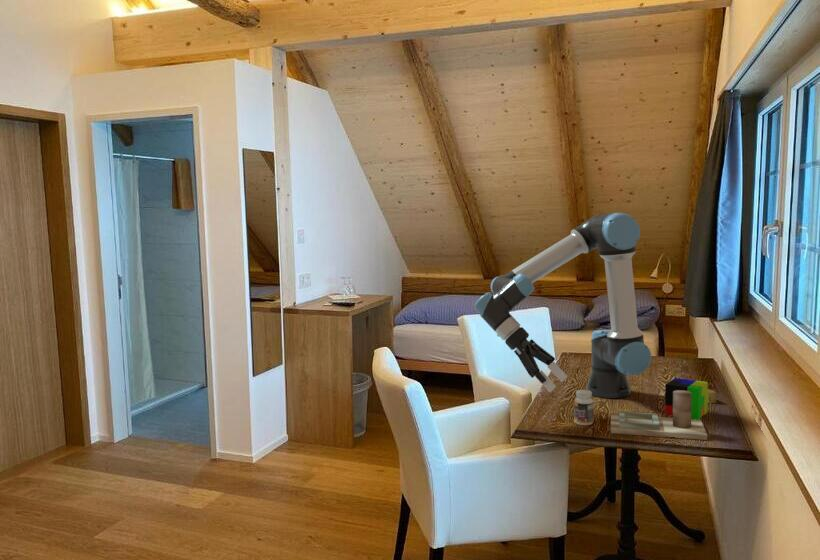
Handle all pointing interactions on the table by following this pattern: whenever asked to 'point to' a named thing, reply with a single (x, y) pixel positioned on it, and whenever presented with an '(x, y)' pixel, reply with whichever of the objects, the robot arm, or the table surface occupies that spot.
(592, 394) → the robot arm
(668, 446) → the table surface
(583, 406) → the pill bottle
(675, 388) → the puzzle toy
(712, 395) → the medication box
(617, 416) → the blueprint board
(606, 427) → the table surface
